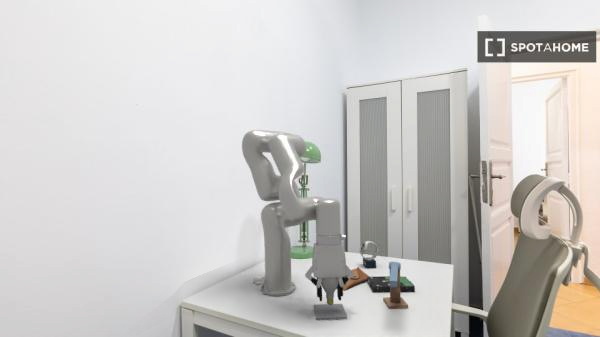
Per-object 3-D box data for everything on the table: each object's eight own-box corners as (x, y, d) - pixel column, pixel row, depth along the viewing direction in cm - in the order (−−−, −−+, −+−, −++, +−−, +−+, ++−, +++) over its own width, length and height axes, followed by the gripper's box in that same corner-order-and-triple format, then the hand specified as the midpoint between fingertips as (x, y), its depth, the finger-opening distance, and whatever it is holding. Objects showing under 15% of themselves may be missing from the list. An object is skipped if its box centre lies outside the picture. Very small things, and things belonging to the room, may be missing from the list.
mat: (316, 319, 91) (316, 318, 91) (314, 306, 100) (314, 304, 100) (347, 318, 91) (347, 317, 91) (342, 305, 100) (342, 303, 100)
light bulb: (337, 300, 98) (336, 268, 98) (340, 308, 93) (339, 274, 93) (320, 301, 98) (319, 269, 98) (322, 309, 92) (321, 275, 92)
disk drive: (373, 294, 109) (415, 293, 109) (372, 286, 109) (415, 285, 109) (366, 283, 120) (405, 282, 120) (366, 276, 120) (405, 275, 120)
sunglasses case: (344, 291, 111) (337, 273, 113) (332, 296, 115) (325, 278, 118) (375, 279, 122) (367, 262, 125) (362, 284, 127) (355, 268, 130)
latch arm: (400, 287, 84) (400, 281, 84) (386, 286, 85) (386, 280, 85) (400, 267, 101) (400, 262, 101) (389, 266, 102) (389, 261, 102)
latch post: (389, 308, 97) (388, 272, 97) (383, 300, 103) (382, 266, 103) (408, 308, 97) (407, 272, 97) (401, 300, 103) (400, 266, 103)
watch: (358, 264, 141) (358, 240, 140) (376, 264, 141) (375, 239, 141) (361, 268, 135) (361, 243, 135) (380, 268, 135) (379, 242, 135)
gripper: (353, 236, 99) (355, 293, 99) (300, 237, 99) (301, 295, 99) (358, 241, 92) (360, 303, 92) (300, 243, 91) (302, 305, 91)
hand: (329, 298), depth 95 cm, fingers closed on light bulb, 5 cm apart
